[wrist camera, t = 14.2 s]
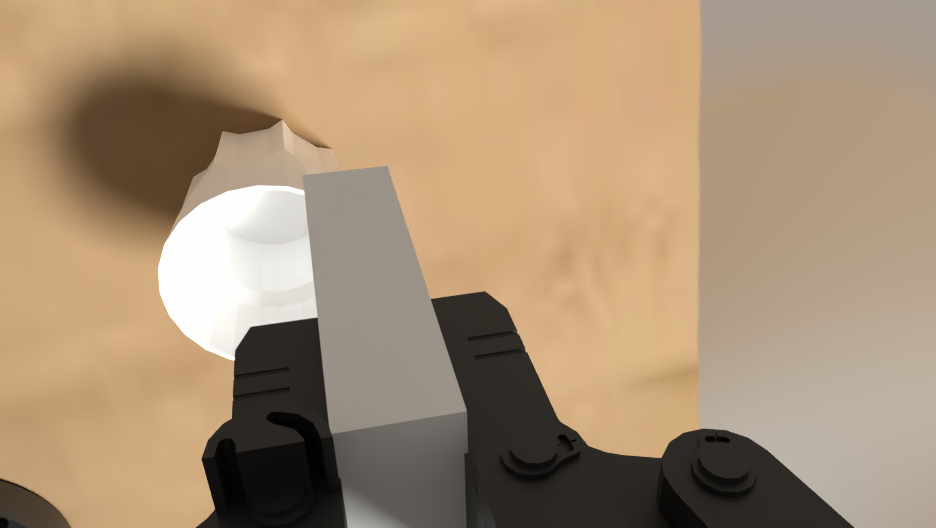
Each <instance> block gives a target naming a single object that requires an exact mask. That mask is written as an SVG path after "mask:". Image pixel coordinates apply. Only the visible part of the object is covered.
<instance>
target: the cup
mask: <svg viewBox="0 0 936 528" xmlns="http://www.w3.org/2000/svg"><path fill="white" fill-rule="evenodd" d="M337 171H340V169H339V166H338V163H337V160H336V157H335V154H334V151H333V149H329V148H321V147H316V146H314V145H313V144H311V143H309V142H307V141H306V140H304V139H302V138H301V137H299V136H297V135H295V134H294V133H292V132H291V131H290V129H289V128H288V127H287V125H286V124H285V122H284V121H283V120H281V121H279V122H278V123H276V124H275V125H274V126H272V127H271V128H269V129H264V130H259V131H254V132H249V133H244V134H236V133H230V132H225V131H223V132H222V135H221V139H220V142H219V145H218V149H217V152H216V155H215V157H214V159H213V160H212V162H211V163H210V165H209V166H208V168H207V169H206V170H204V171H202V172H201V173H199V174H197V175H196V176H194V177H193V179H192V182H191V185H190V187H189V190H188V193H187V196H186V198H185V201H184V204H183V207H182V209H181V211H180V213H179V215H178V217H177V219H176V221H175V223H174V225H173V227H172V229H171V231H170V234H169V236H168V238H167V240H166V242H165V244H164V248H163V252H162V255H161V259H160V263H159V267H158V275H159V289H160V295H161V297H162V299H163V302H164V304H165V307H166V309H167V311H168V314H169V316H170V317H171V318H172V319H173V321H174V322H175V323H176V324H177V325H178V327H179V328H180V329H181V330H182V332H183V333H184V334H185V335H186V336H188V337H189V338H190V339H192V340H193V341H195V342H196V343H197V344H199V345H200V346H202V347H203V348H204V349H206V350H208V351H210V352H213V353H215V354H218V355H220V356H223V357H225V358H227V359H230V360H235V350H236V348H237V347H238V345H239V344H240V342H241V341H242V339H243V338H244V336H245V334H246V333H247V331H248V330H249V328H250V327H253V326H260V325H267V324H274V323H281V322H288V321H295V320H302V319H309V318H317V307H316V298H315V288H314V279H313V270H312V260H311V251H310V241H309V232H308V222H307V213H306V204H305V194H304V185H303V175H310V174H319V173H328V172H337Z"/></svg>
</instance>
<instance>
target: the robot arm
mask: <svg viewBox="0 0 936 528" xmlns="http://www.w3.org/2000/svg"><path fill="white" fill-rule="evenodd" d="M303 185H304V194H305V204H306V213H307V222H308V232H309V241H310V251H311V260H312V270H313V279H314V288H315V298H316V307H317V318H309V319H302V320H295V321H288V322H281V323H274V324H267V325H260V326H253V327H250V328H249V330H248V331H247V333H246V334H245V336H244V338H243V339H242V341H241V342H240V344H239V345H238V347H237V348H236V350H235V362H234V385H233V399H234V401H233V408H232V419H231V420H229V421H227V422H226V423H224V424H223V425H222V426H221V427H220V428H219V429H218V430H217V431H216V432H215V433H214V434H213V435H212V437H211V438H210V439H209V440H208V442H207V445H206V447H205V450H204V453H203V456H202V462H203V466H204V469H205V473H206V477H207V480H208V484H209V488H210V491H211V495H212V499H213V502H214V506H215V510H214V511H213V513H212V514H211V515H210V516H209V517H208V518H207V519H206V520H205V521H204V522H202V523H201V524H200V525H199V526H197V527H196V528H854V527H853V526H852V525H851V524H850V523H848V522H847V521H846V520H845V519H844V518H843V517H842V516H841V515H839V514H838V513H837V512H836V511H835V510H834V509H833V508H832V507H830V506H829V505H828V504H827V503H826V502H825V501H824V500H822V499H821V498H820V497H819V496H818V495H817V494H816V493H815V492H813V491H812V490H811V489H810V488H809V487H808V486H807V485H806V484H804V483H803V482H802V481H801V480H800V479H799V478H798V477H797V476H795V475H794V474H793V473H792V472H791V471H790V470H789V469H788V468H786V467H785V466H784V465H783V464H782V463H781V462H780V461H778V460H777V459H776V458H775V457H774V456H773V455H772V454H771V453H770V452H768V451H767V450H765V449H764V448H763V447H761V446H760V445H758V444H756V443H755V442H753V441H752V440H750V439H749V438H747V437H744V436H741V435H738V434H735V433H732V432H729V431H726V430H715V429H699V430H695V431H690V432H686V433H683V434H681V435H680V436H678V437H677V438H675V439H674V440H672V441H671V442H670V443H669V444H668V446H667V448H666V450H665V452H664V454H663V456H662V458H652V457H639V456H627V455H619V454H613V453H607V452H603V451H601V450H598V449H595V448H592V447H589V446H588V445H587V444H586V443H585V441H584V440H583V439H582V438H581V436H580V435H579V434H578V433H577V432H576V431H574V430H573V429H571V428H569V427H568V426H566V425H564V424H563V423H561V422H560V421H559V419H558V418H557V416H556V414H555V412H554V409H553V407H552V405H551V403H550V401H549V399H548V396H547V394H546V392H545V390H544V388H543V386H542V383H541V381H540V379H539V377H538V375H537V373H536V370H535V368H534V366H533V364H532V362H531V360H530V357H529V355H528V353H526V352H525V347H524V345H523V342H522V340H521V338H520V336H519V334H517V329H516V327H515V325H514V323H513V321H512V319H511V316H510V314H509V312H508V310H507V308H506V307H504V306H503V305H502V304H500V303H499V302H498V301H497V300H495V299H494V298H493V297H492V296H490V295H489V294H488V293H486V292H485V291H484V292H477V293H470V294H463V295H456V296H449V297H442V298H435V299H430V296H429V293H428V290H427V287H426V284H425V281H424V277H423V274H422V271H421V268H420V265H419V262H418V259H417V256H416V253H415V250H414V247H413V244H412V241H411V237H410V234H409V231H408V228H407V225H406V222H405V219H404V216H403V213H402V210H401V207H400V204H399V201H398V198H397V194H396V191H395V188H394V185H393V182H392V179H391V176H390V173H389V170H388V167H387V166H383V167H373V168H364V169H355V170H346V171H337V172H328V173H319V174H310V175H303ZM0 528H71V527H70V525H69V524H68V522H67V521H66V520H65V518H64V517H63V516H62V515H61V514H60V513H59V512H58V511H57V510H56V509H55V508H54V507H53V506H51V505H50V504H49V503H48V502H46V501H45V500H43V499H42V498H40V497H38V496H37V495H35V494H33V493H31V492H29V491H27V490H25V489H22V488H20V487H18V486H15V485H12V484H9V483H6V482H3V481H0Z"/></svg>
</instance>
